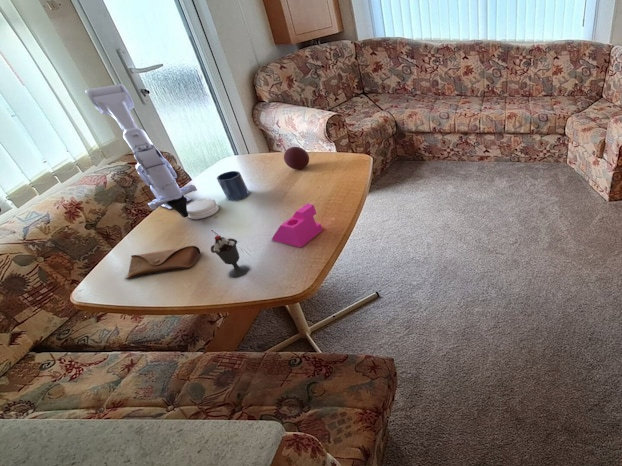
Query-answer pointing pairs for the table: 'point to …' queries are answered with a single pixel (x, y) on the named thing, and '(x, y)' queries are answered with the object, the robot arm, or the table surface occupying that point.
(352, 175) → the table surface
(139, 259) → the sunglasses case
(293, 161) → the decorative ball
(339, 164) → the table surface
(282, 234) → the bracket
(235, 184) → the cup
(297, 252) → the table surface
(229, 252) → the sundae
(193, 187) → the robot arm
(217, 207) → the white round dish
